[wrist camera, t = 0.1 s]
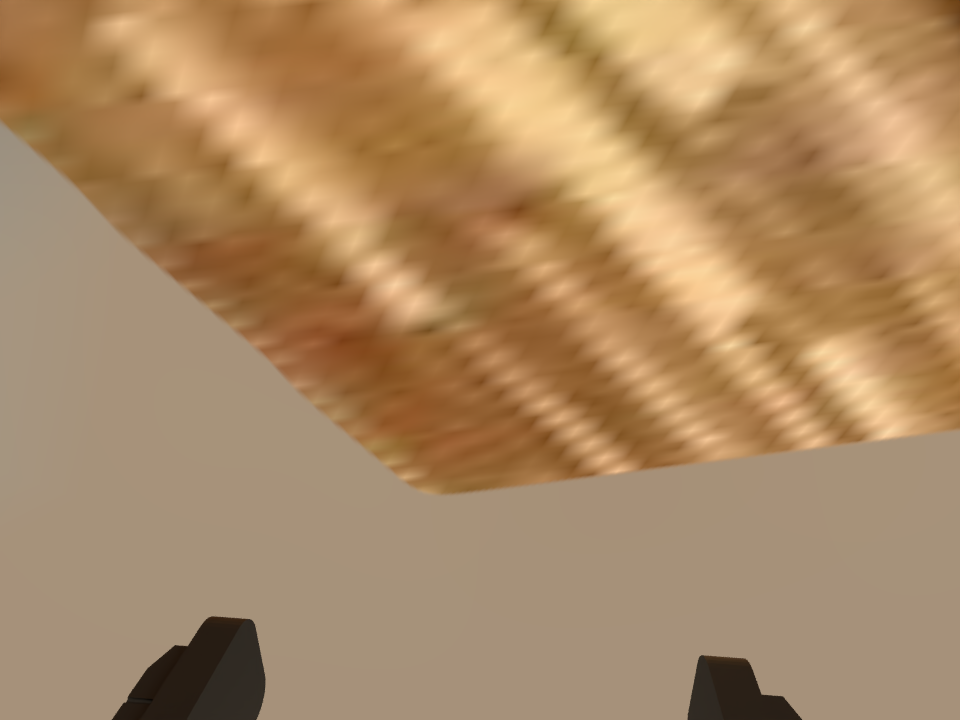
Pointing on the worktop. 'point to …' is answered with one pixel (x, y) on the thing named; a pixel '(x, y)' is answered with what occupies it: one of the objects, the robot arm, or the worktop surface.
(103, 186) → the worktop surface
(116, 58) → the worktop surface
